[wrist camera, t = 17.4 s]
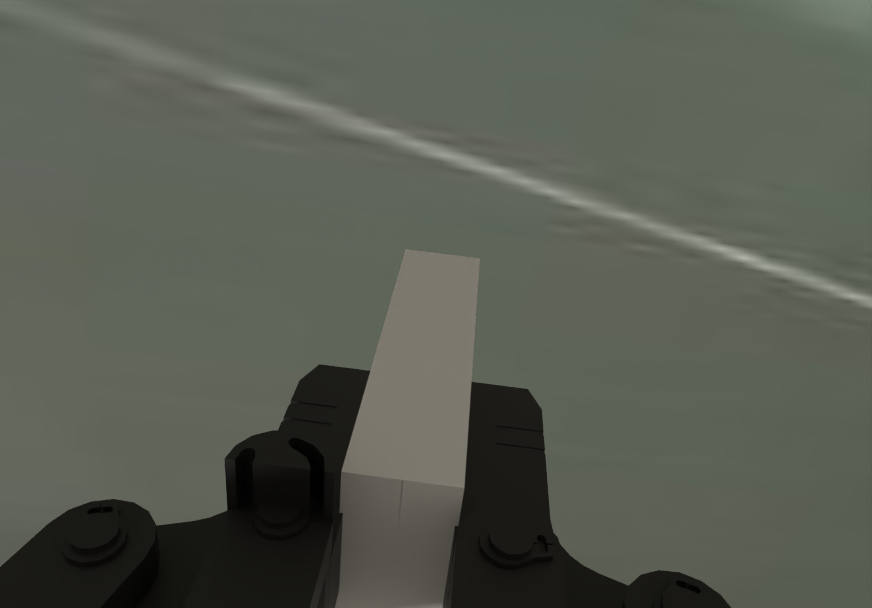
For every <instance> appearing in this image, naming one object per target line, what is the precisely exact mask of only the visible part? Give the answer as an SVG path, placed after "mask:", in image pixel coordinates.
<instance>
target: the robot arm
mask: <svg viewBox="0 0 872 608" xmlns="http://www.w3.org/2000/svg"><path fill="white" fill-rule="evenodd" d="M479 261H480V259H479V258H471V257H463V256H455V255H447V254H439V253H431V252H423V251H415V250H407V249H406V250H405V253H404V257H403V260H402V264H401V267H400V271H399V274H398V278H397V281H396V284H395V288H394V291H393V295H392V298H391V302H390V305H389V309H388V312H387V316H386V319H385V322H384V326H383V329H382V333H381V336H380V340H379V343H378V347H377V350H376V354H375V357H374V360H373V364H372V367H371V371H366V370H359V369H351V368H343V367H335V366H328V365H320V364H319V365H318V366H317V367H316V368H315V369H313V370H312V371H311V372H310V373H308V374H307V375H306V376H305V377H303V378H302V379H301V380H300V381H299V383H298V386H297V388H296V390H295V393H294V395H293V397H292V399H291V404H290V405H289V406H288V409H287V411H286V413H285V416H284V420H283V422H281V425H280V427H279V429H278V431H269V432H265V433H261V434H257V435H253V436H251V437H249V438H248V439H246V440H244V441H242V442H241V443H239V444H237V445H236V446H235V447H234V448H233V449H232V450H231V452H230V453H229V454H228V455H227V456H226V458H225V473H226V490H227V508H228V510H227V511H225V512H223V513H220V514H218V515H215V516H213V517H210V518H206V519H201V520H196V521H191V522H183V523H175V524H167V525H158V526H156V524H155V522H154V520H153V518H152V517H151V515H150V513H149V511H147V510H145V509H144V508H142V507H140V506H139V505H137V504H135V503H134V502H128V501H122V500H116V499H111V500H102V501H93V502H89V503H86V504H84V505H81V506H78V507H75V508H73V509H70V510H68V511H66V512H65V513H63V514H62V515H60V516H59V517H57V518H56V519H54V520H53V521H52V522H50V523H49V524H48V525H46V526H45V527H44V528H43V529H42V530H41V531H40V532H39V533H38V534H36V535H35V536H34V537H33V538H32V539H31V540H30V541H29V542H28V543H26V544H25V545H24V546H23V547H22V548H21V549H20V550H19V551H18V552H16V553H15V554H14V555H13V556H12V557H11V558H10V559H9V560H8V561H6V562H5V563H4V564H3V565H2V566H1V567H0V608H731V607H730V606H729V604H728V603H727V602H726V601H725V600H724V598H723V597H722V596H721V595H720V594H718V593H717V592H716V591H714V590H713V589H712V588H710V587H709V586H707V585H706V584H705V583H703V582H702V581H700V580H697V579H695V578H692V577H690V576H687V575H685V574H682V573H680V572H670V571H660V570H658V571H654V572H650V573H646V574H642V575H640V576H639V577H638V578H637V579H636V580H635V581H634V582H632V583H631V584H630V585H629V586H628V585H625V584H623V583H620V582H618V581H616V580H613V579H611V578H608V577H606V576H603V575H601V574H599V573H597V572H595V571H593V570H591V569H589V568H587V567H585V566H583V565H582V564H580V563H579V562H578V561H577V560H575V559H574V558H573V557H571V556H570V555H569V554H568V553H567V552H566V550H565V549H564V548H563V547H562V546H561V545H560V543H559V540H558V537H557V536H556V535H555V534H554V533H553V529H552V525H551V521H550V510H549V497H548V484H547V472H546V459H545V454H544V451H545V446H544V435H543V421H542V409H541V408H540V406H539V405H538V403H537V402H536V401H535V399H534V398H533V396H532V395H531V393H530V392H529V390H528V389H522V388H515V387H507V386H499V385H491V384H484V383H476V382H471V381H472V366H473V351H474V336H475V321H476V306H477V291H478V276H479Z"/></svg>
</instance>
